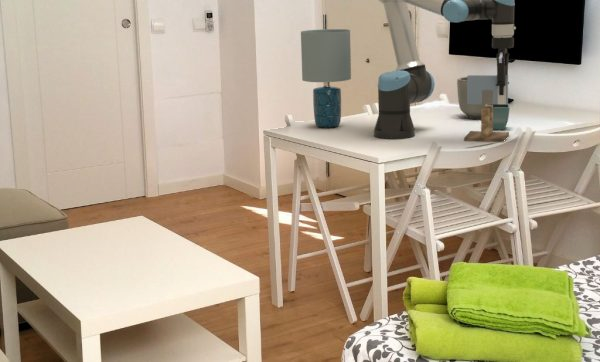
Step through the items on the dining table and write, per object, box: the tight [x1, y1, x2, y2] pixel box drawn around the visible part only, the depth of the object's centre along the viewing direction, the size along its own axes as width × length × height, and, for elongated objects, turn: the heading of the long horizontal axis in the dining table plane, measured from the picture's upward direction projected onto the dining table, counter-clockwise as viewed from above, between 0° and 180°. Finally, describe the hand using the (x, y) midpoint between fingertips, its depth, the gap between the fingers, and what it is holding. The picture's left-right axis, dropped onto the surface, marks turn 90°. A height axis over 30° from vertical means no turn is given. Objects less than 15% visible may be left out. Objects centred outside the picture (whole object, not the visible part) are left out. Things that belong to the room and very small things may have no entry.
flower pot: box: [486, 103, 511, 131], centre depth 338 cm, size 9×9×9 cm
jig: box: [464, 105, 510, 143], centre depth 320 cm, size 14×13×11 cm
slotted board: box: [466, 74, 509, 105], centre depth 318 cm, size 14×2×10 cm, turn 70°
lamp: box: [300, 28, 352, 129], centre depth 352 cm, size 19×19×38 cm
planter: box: [456, 76, 493, 120], centre depth 364 cm, size 17×17×16 cm
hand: (502, 103), depth 317 cm, fingers closed on slotted board, 2 cm apart
